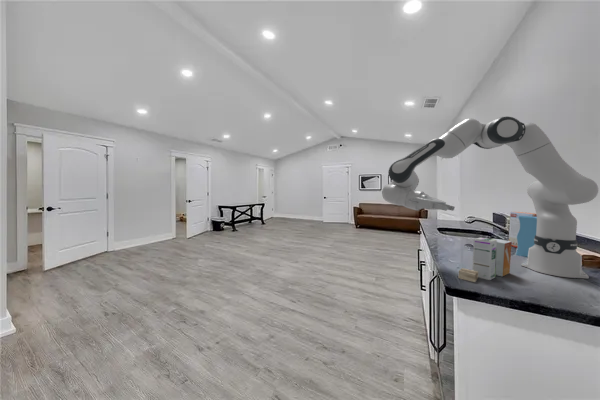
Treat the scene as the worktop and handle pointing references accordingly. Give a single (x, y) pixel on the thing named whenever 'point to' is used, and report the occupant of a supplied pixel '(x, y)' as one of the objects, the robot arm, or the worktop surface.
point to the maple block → (468, 274)
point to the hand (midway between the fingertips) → (450, 208)
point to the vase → (526, 234)
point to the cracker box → (516, 225)
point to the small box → (503, 257)
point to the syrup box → (485, 257)
